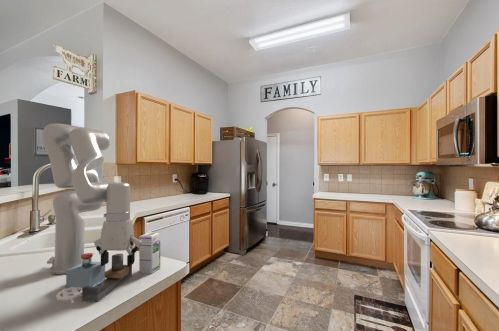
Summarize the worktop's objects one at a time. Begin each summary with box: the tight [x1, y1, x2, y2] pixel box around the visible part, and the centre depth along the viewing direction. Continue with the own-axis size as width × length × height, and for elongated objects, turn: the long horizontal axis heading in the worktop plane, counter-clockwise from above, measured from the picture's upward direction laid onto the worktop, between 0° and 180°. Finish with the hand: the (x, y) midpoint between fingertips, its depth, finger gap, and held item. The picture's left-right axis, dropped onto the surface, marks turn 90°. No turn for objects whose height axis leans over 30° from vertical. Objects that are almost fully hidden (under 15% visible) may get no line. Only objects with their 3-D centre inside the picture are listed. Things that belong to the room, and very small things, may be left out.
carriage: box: [104, 253, 129, 279], centre depth 83 cm, size 6×5×7 cm
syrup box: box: [138, 231, 161, 275], centre depth 93 cm, size 6×6×14 cm
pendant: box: [55, 287, 82, 304], centre depth 73 cm, size 7×11×1 cm, turn 44°
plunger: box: [81, 252, 94, 267], centre depth 82 cm, size 3×3×4 cm
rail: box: [81, 264, 133, 303], centre depth 79 cm, size 5×18×4 cm, turn 176°
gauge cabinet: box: [65, 261, 106, 289], centre depth 82 cm, size 8×8×6 cm
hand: (117, 264), depth 83 cm, fingers open, 9 cm apart
